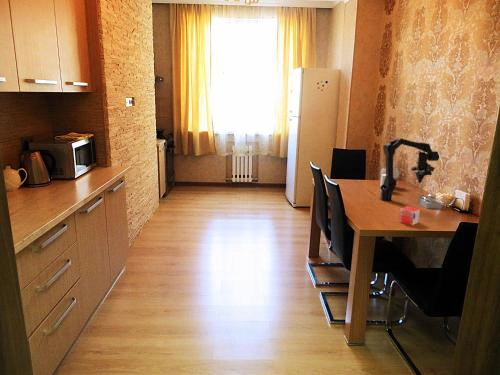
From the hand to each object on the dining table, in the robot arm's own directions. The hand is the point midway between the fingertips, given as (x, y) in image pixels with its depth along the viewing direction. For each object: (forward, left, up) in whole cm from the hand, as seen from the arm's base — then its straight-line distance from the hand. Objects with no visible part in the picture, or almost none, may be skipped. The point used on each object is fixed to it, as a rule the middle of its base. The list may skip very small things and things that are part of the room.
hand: (419, 182), depth 257 cm
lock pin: (0, -9, -11) cm, 14 cm away
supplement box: (-14, +25, -12) cm, 32 cm away
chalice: (-6, +40, -12) cm, 43 cm away
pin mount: (0, -9, -12) cm, 15 cm away
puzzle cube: (-29, -53, -12) cm, 61 cm away
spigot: (0, -19, -12) cm, 22 cm away
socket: (0, -17, -12) cm, 21 cm away
